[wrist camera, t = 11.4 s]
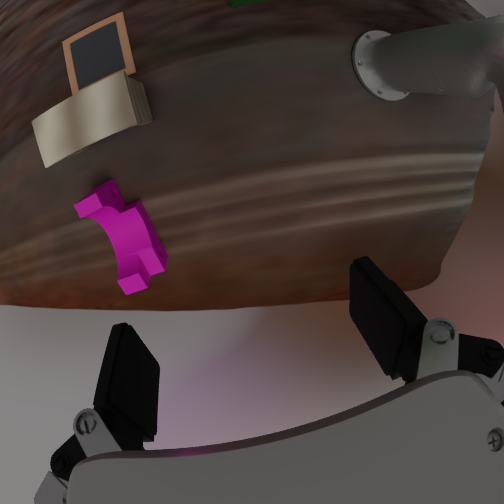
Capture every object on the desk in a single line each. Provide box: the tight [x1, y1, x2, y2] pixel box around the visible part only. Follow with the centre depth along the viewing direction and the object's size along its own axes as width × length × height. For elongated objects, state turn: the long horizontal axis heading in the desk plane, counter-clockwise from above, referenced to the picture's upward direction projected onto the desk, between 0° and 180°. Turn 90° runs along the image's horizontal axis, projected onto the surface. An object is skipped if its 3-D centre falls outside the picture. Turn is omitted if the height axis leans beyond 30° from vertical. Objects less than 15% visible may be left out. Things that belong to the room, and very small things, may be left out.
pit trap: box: [63, 12, 136, 95], centre depth 25 cm, size 10×11×1 cm
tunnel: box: [32, 71, 154, 168], centre depth 25 cm, size 12×6×11 cm, turn 102°
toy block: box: [74, 179, 168, 295], centre depth 35 cm, size 15×6×8 cm, turn 16°
